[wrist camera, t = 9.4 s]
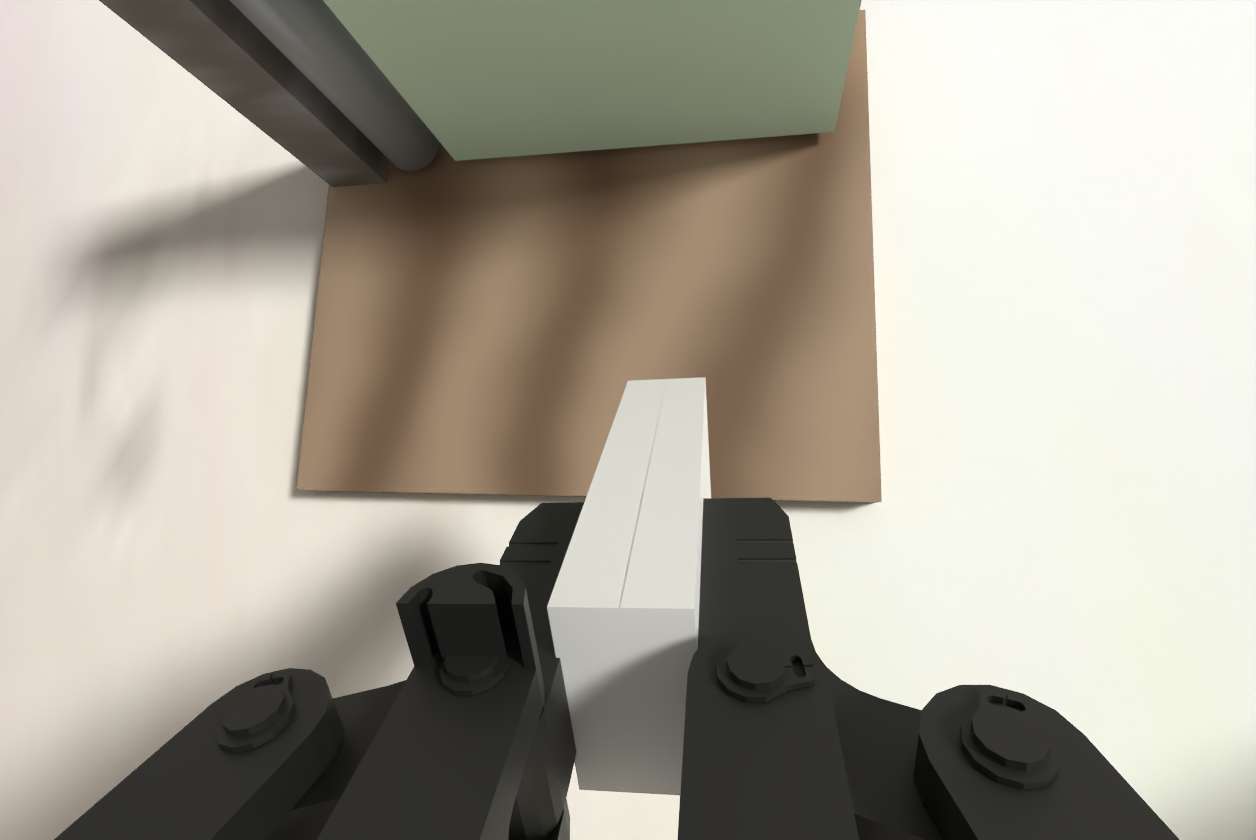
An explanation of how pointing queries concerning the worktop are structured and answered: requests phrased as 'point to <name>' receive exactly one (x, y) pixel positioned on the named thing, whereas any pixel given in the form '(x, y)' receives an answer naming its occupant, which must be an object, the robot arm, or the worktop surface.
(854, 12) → the gate
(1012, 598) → the worktop surface
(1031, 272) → the worktop surface
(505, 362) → the wooden stand
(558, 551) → the robot arm
